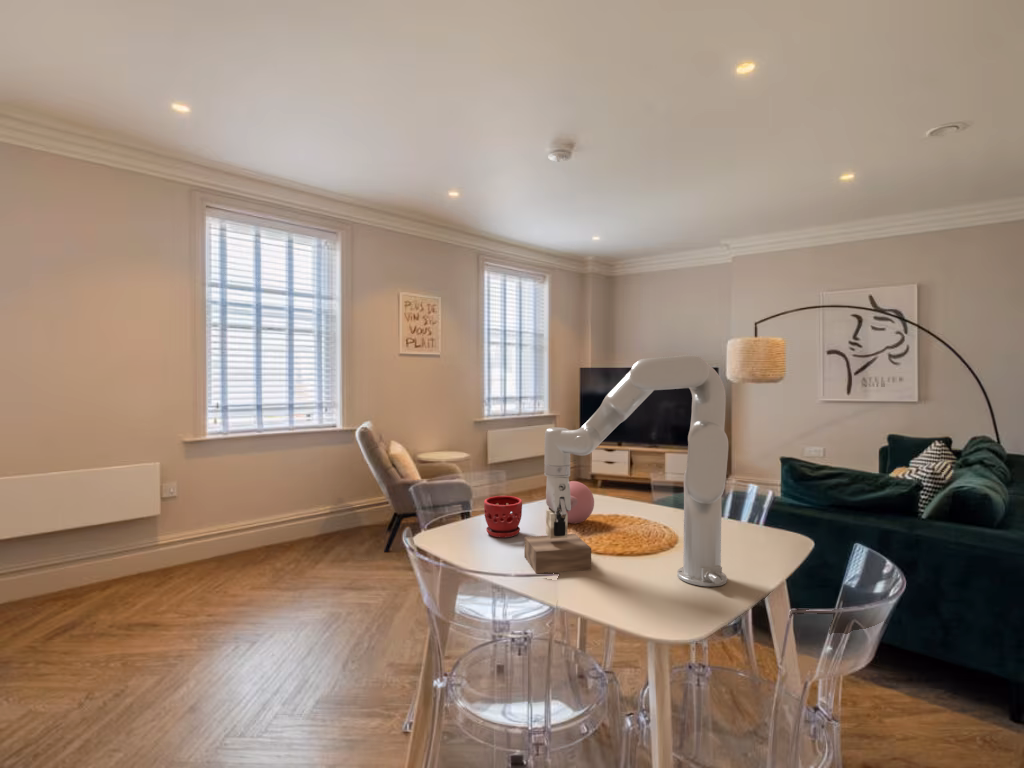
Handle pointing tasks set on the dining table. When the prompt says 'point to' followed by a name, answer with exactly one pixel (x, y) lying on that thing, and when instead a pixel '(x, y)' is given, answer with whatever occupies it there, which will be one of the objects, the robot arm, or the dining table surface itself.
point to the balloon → (580, 502)
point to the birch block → (550, 524)
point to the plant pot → (503, 515)
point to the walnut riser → (557, 553)
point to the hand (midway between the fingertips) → (556, 532)
